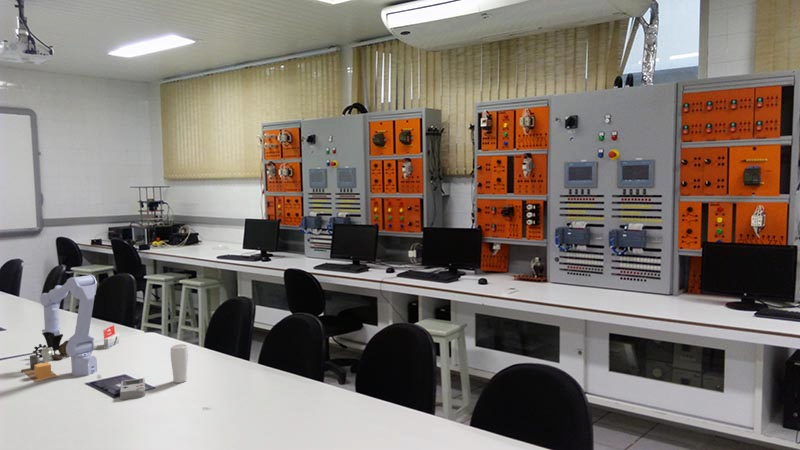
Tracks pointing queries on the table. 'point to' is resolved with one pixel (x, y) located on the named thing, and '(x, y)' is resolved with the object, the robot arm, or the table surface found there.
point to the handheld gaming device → (132, 388)
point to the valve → (44, 353)
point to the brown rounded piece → (61, 351)
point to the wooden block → (31, 371)
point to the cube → (42, 370)
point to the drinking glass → (179, 362)
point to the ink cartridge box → (110, 338)
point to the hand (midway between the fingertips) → (53, 348)
